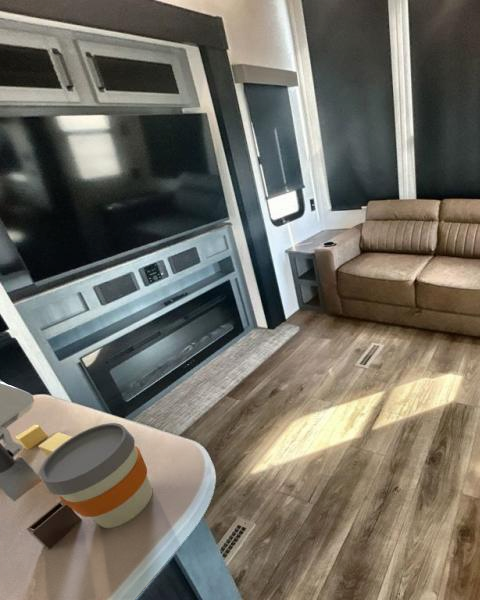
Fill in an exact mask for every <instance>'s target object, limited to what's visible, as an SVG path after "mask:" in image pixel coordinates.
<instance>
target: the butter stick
mask: <svg viewBox="0 0 480 600" xmlns="http://www.w3.org/2000/svg"><path fill="white" fill-rule="evenodd" d="M72 437H73V436H70V435H67V434H65V433H61V432H56V433H55V434H53V435H52V436H50V437H49V438H48V439H46V440H44V441H43V442H41V443H39V444H38V448H39V449H40V450H41V451H42V453H43V454H44V455H45V456H46V457H47V458H48V457H49V456H50V454H52V453H53V452H54V451H55V450H56V449H57V448H58V447H59V446H61V445H62V444H63V443H64V442H66V441H67V440H69V439H70V438H72Z"/></svg>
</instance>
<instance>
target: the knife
mask: <svg viewBox="0 0 480 600" xmlns="http://www.w3.org/2000/svg"><path fill="white" fill-rule="evenodd" d="M4 447H5V446H4V444H3V443H1V442H0V489H1V490H2V491H3V492H4V493H5V495H6V496H8V497H9V498H10V500H11V501H12V502H16V501H17V500H19V499H20V498H22V496H24V495H25V494H27V493H28V492H29V491H30V490H32V489H33V488H34V487H36V486H37V485H39V483H41V482H43V480H42V478H41V476H40V475H39V474H38V473H37V472H36V471H35V470H34V468H32V467H31V465H30V464H29V463H28V462H27V461H26V460H25V459H24V458H23V457H22V456H21V455H19V456H17V457H16V458H15V456H14V457H13V456H12V455H11V454H10V453H9V452H8V451H7V450H6V449H5V448H4Z"/></svg>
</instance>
